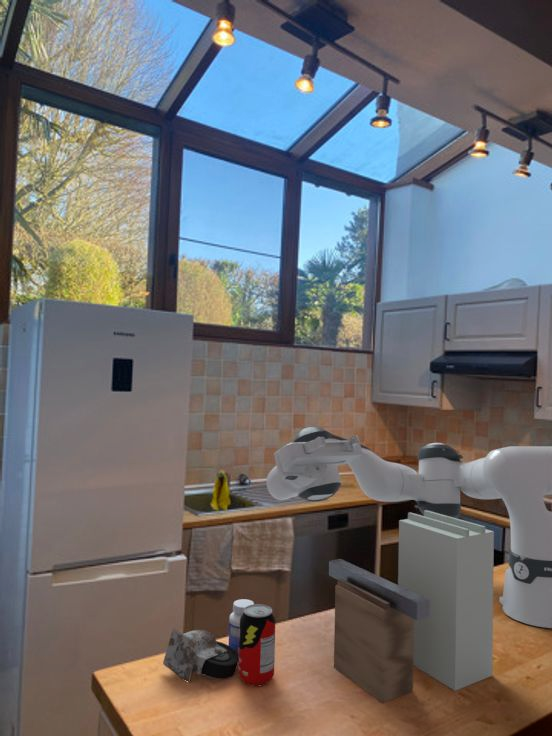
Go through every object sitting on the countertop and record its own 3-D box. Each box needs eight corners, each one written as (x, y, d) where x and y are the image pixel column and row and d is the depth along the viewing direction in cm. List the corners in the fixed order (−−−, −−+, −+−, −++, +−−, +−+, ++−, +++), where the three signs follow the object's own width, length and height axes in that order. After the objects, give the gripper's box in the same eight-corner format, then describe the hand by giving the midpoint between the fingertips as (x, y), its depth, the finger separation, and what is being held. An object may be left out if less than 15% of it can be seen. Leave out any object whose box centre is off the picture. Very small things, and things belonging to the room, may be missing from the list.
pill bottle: (237, 644, 108) (238, 595, 108) (261, 651, 105) (262, 600, 106) (222, 656, 103) (224, 605, 103) (247, 663, 101) (248, 610, 101)
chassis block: (362, 657, 104) (364, 573, 104) (412, 691, 93) (414, 596, 93) (333, 667, 100) (335, 579, 101) (382, 703, 89) (384, 604, 90)
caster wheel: (240, 683, 99) (205, 700, 91) (197, 651, 105) (160, 664, 97) (251, 647, 99) (216, 661, 91) (207, 617, 105) (171, 628, 97)
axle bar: (340, 573, 107) (340, 558, 107) (429, 616, 87) (429, 599, 88) (328, 575, 106) (329, 560, 106) (416, 620, 86) (417, 602, 86)
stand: (432, 643, 110) (434, 509, 111) (492, 675, 98) (493, 524, 99) (396, 655, 105) (399, 514, 106) (455, 690, 93) (457, 531, 94)
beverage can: (262, 666, 100) (263, 600, 100) (281, 682, 95) (282, 612, 95) (231, 675, 96) (233, 607, 97) (249, 692, 91) (251, 620, 91)
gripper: (346, 473, 132) (380, 450, 122) (274, 479, 121) (305, 454, 111) (338, 449, 135) (371, 425, 125) (267, 453, 124) (297, 427, 114)
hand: (340, 439), depth 118 cm, fingers open, 8 cm apart
